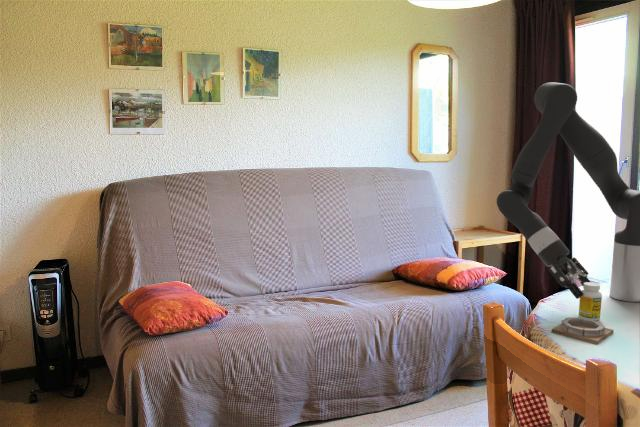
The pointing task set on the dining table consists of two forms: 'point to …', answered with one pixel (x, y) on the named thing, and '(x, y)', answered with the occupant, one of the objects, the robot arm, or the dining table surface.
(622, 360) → the dining table surface
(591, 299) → the supplement bottle
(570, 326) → the collar
